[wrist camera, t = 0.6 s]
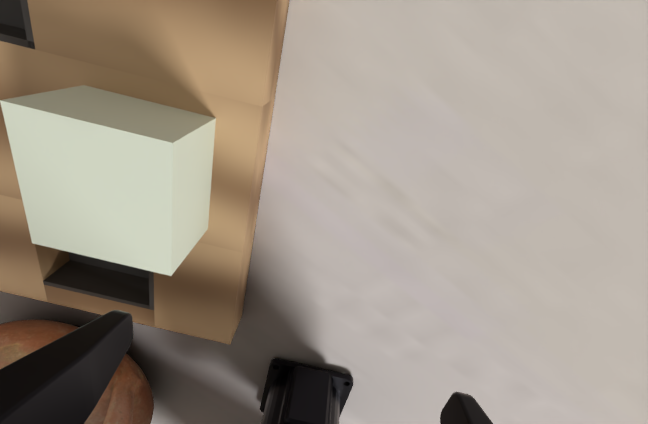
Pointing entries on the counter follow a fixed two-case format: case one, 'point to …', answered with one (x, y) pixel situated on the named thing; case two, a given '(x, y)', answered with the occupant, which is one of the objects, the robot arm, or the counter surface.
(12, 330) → the ceramic jug
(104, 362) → the robot arm
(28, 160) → the block
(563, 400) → the counter surface
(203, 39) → the toy board
